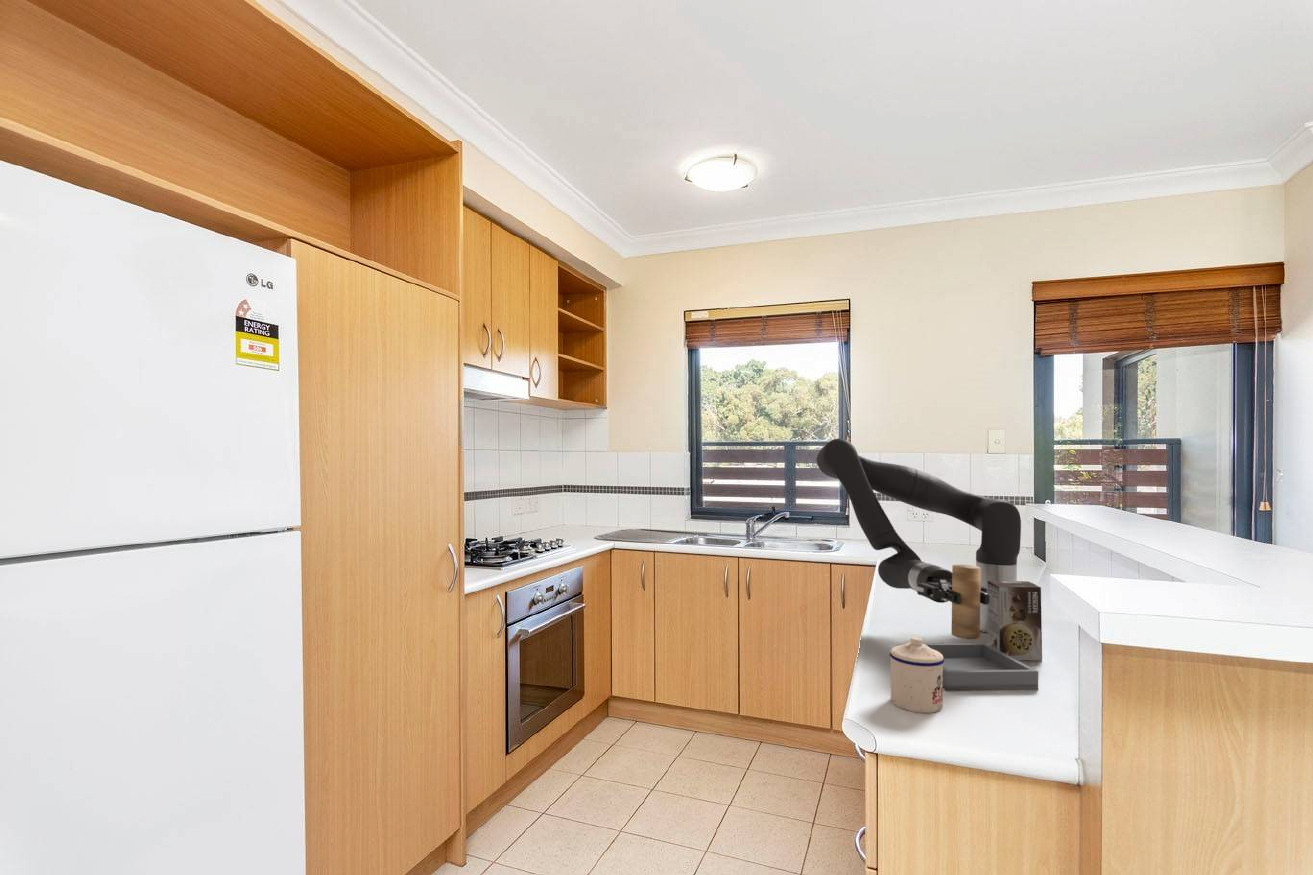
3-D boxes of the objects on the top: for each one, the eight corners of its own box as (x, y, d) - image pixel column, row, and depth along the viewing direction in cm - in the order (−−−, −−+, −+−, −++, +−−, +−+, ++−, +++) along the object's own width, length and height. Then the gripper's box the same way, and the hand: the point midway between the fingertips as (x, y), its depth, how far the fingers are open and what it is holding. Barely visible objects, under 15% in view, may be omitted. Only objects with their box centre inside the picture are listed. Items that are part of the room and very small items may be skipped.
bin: (984, 659, 141) (984, 643, 141) (1038, 689, 123) (1038, 671, 123) (904, 660, 140) (904, 643, 140) (946, 690, 122) (946, 672, 122)
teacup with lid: (945, 717, 110) (945, 648, 110) (888, 709, 113) (888, 642, 113) (942, 693, 121) (942, 630, 121) (890, 686, 124) (890, 625, 125)
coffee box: (1029, 652, 147) (1028, 580, 147) (1043, 661, 140) (1042, 586, 140) (986, 650, 147) (986, 579, 148) (998, 659, 141) (998, 585, 141)
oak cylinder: (970, 632, 135) (971, 564, 135) (985, 639, 130) (985, 569, 130) (946, 631, 134) (947, 564, 135) (959, 639, 129) (960, 569, 129)
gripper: (901, 564, 146) (938, 580, 129) (962, 565, 147) (1008, 580, 130) (900, 598, 146) (938, 618, 129) (962, 598, 147) (1007, 618, 130)
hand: (973, 599), depth 130 cm, fingers closed on oak cylinder, 5 cm apart
